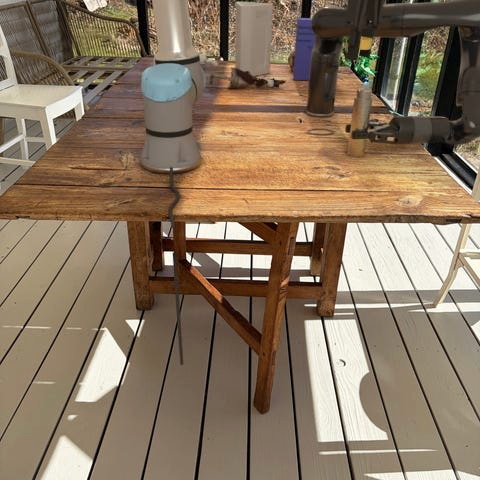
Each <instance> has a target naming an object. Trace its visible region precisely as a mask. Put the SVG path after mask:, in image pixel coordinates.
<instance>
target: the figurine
mask: <svg viewBox="0 0 480 480" xmlns="http://www.w3.org/2000/svg"><path fill="white" fill-rule="evenodd" d="M230 69H231V72H230V73H231V74H230V76H229V75H225V74H213V73H211V74H210V78H209V85H212V84H213V83H214V79H215V78H216V79H223V80H227V81H229V84H228V88H229V89H241V88H247V87H249V86H255V87H256V88H262V87H268V88H271V89H273V88H280V86H281V85H284V84H286V83H287V80H285V79H275V78H274V77H272V78H265V77H262V78H261V77H257V76H252V75H251V73H250V72H249V71H245V72H244V71H242V70H240V69H237V68H235V67H232V66H231V67H230Z"/></svg>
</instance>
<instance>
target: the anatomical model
mask: <svg viewBox="0 0 480 480" xmlns="http://www.w3.org/2000/svg"><path fill="white" fill-rule="evenodd" d="M294 58H295V49H293V51H292V52H291V53H290V54H289V56H288V58H287V63H288V64H289V65H288V66H289V69H291V72H294Z"/></svg>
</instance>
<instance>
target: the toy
mask: <svg viewBox="0 0 480 480" xmlns="http://www.w3.org/2000/svg"><path fill="white" fill-rule="evenodd" d="M198 52H199V56H200V65H201V66H204V65H207V64H212V65H213V66H214V67H216V68H217V67H218V66H219V63H218V62H217V61H216V60H215V59H213V58H207V56H206V55H205V54H202V53H201V51H198ZM157 53H158V51H157V52H155V53H154V55H153V66H156V65H155V58H154V57H155V55H156V54H157Z"/></svg>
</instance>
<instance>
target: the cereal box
mask: <svg viewBox="0 0 480 480" xmlns="http://www.w3.org/2000/svg"><path fill="white" fill-rule="evenodd" d="M312 18H313V17H311V18H309V17H308V18H307V17H297V19H296V30H295V31H296V32H295V45H294V50H295V58H294V72H293V73H292V79H293V81H309V75H310V63H311V52H312V49H313V47H314V43H315V34H314V33H313V31H312V28H311V20H312Z"/></svg>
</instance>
